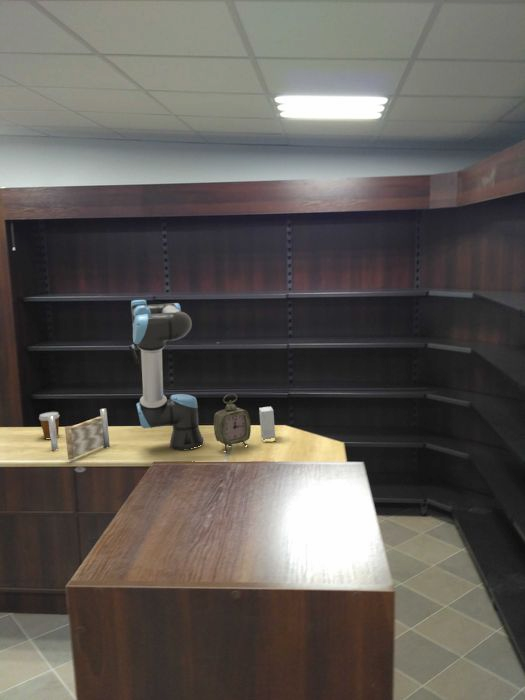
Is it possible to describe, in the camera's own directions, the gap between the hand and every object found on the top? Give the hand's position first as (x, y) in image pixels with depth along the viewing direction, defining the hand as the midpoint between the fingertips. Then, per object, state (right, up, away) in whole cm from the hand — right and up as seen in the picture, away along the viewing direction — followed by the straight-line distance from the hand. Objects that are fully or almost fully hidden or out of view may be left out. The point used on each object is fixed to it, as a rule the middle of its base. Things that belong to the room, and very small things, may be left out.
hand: (144, 377), depth 273 cm
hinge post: (-13, -31, -22) cm, 40 cm away
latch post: (-36, -32, -23) cm, 54 cm away
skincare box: (+62, -28, -22) cm, 71 cm away
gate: (-19, -31, -32) cm, 49 cm away
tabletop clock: (+46, -30, -32) cm, 63 cm away
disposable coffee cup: (-45, -30, -4) cm, 54 cm away
